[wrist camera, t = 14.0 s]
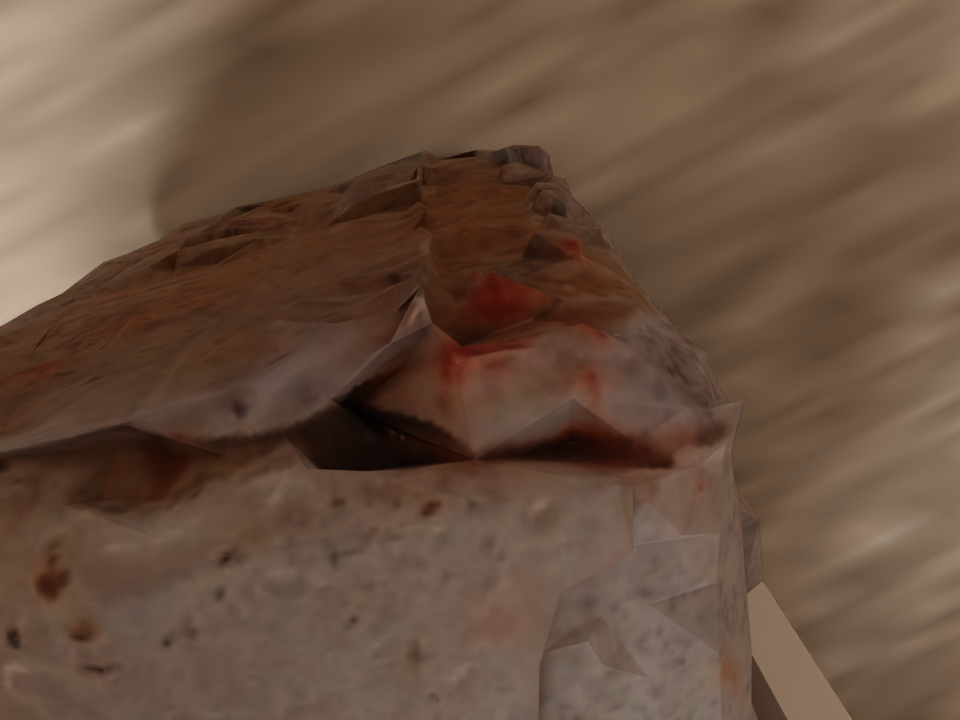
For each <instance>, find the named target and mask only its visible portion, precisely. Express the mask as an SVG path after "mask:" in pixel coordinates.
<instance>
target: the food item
mask: <svg viewBox="0 0 960 720" xmlns="http://www.w3.org/2000/svg"><path fill="white" fill-rule="evenodd" d="M744 401H745V399H742V400H738V401H735V402H732V403H727V401H726V399H725V397H724V395H723V393H722V391H721V389H720V387H719V385H718V383H717V381H716V379H715V377H714V375H713V373H712V371H711V369H710V366H709V363H708V360H707V357H706V354H705V351H704V350H702V349H701V348H699V347H698V346H697V345H695V344H694V343H692V342H691V341H689V340H688V339H686V338H685V337H683V336H682V335H681V334H680V333H679V332H678V330H677V329H676V328H675V327H674V326H673V325H672V324H671V322H670V321H669V320H668V319H667V318H666V317H665V316H664V314H663V313H662V312H661V311H660V310H659V309H658V308H657V307H656V305H655V304H654V303H653V302H652V301H651V300H650V299H649V298H648V296H647V295H646V294H645V293H644V292H643V291H642V290H641V289H640V287H639V286H638V285H637V283H636V281H635V280H634V278H633V276H632V275H631V273H630V271H629V270H628V268H627V266H626V265H625V263H624V261H623V260H622V258H621V257H620V256H619V254H618V253H617V251H616V249H615V247H614V245H613V243H612V241H611V239H610V238H609V236H608V235H607V234H606V232H605V231H604V230H603V229H602V228H601V227H600V226H599V225H598V224H597V222H596V221H595V220H594V219H593V218H592V217H591V216H590V215H589V213H588V212H587V211H586V210H585V209H584V208H583V207H582V206H581V205H580V204H579V203H578V202H577V201H576V200H575V199H574V198H573V197H572V196H571V193H570V190H569V187H568V184H567V182H566V179H562V178H558V177H555V176H553V173H552V168H551V163H550V159H549V155H548V154H547V153H545V152H544V151H543V150H542V149H541V148H540V147H539V146H523V145H513V146H510V147H507V148H504V149H501V150H498V151H484V150H475V151H471V152H466V153H460V154H453V155H447V156H440V157H436V156H434V155H432V154H430V153H428V152H426V151H424V152H421V153H418V154H415V155H412V156H409V157H406V158H403V159H401V160H398V161H396V162H393V163H390V164H388V165H385V166H382V167H380V168H377V169H375V170H372V171H370V172H368V173H365V174H363V175H361V176H358V177H356V178H354V179H351V180H349V181H346V182H344V183H342V184H339V185H336V186H332V187H328V188H324V189H320V190H316V191H312V192H308V193H304V194H300V195H295V196H290V197H286V198H281V199H276V200H271V201H266V202H261V203H257V204H252V205H247V206H242V207H237V208H235V209H233V210H231V211H229V212H227V213H225V214H223V215H220V216H216V217H212V218H208V219H204V220H199V221H195V222H191V223H187V224H184V225H183V226H181V227H179V228H178V229H176V230H175V231H173V232H171V233H170V234H168V235H167V236H165V237H164V238H162V239H160V240H159V241H156V242H154V243H152V244H149V245H147V246H144V247H142V248H140V249H137V250H135V251H133V252H130V253H128V254H125V255H123V256H120V257H117V258H114V259H112V260H109V261H106V262H104V263H102V264H101V265H99V266H98V267H97V268H95V269H94V270H93V271H91V272H90V273H89V274H87V275H86V276H85V277H83V278H82V279H81V280H79V281H78V282H77V283H75V284H74V285H73V286H71V287H70V288H69V289H68V290H66V291H65V292H64V293H62V294H61V295H58V296H56V297H54V298H52V299H50V300H48V301H46V302H44V303H41V304H39V305H37V306H35V307H34V308H32V309H30V310H28V311H27V312H25V313H23V314H22V315H20V316H18V317H16V318H15V319H13V320H11V321H10V322H8V323H6V324H4V325H2V326H0V720H758V719H757V716H756V713H755V711H754V708H753V705H752V703H751V675H752V647H751V636H750V625H749V613H748V602H747V594H748V593H749V592H750V591H751V590H753V589H754V588H755V587H756V586H757V585H758V584H760V583H761V582H762V581H763V567H762V552H761V538H760V523H759V519H758V517H757V516H756V514H755V513H754V512H753V510H752V509H751V508H750V506H749V505H748V503H747V502H746V501H745V499H744V498H743V496H742V495H741V494H740V492H739V491H738V490H737V488H736V484H735V479H734V474H733V468H732V445H733V441H734V438H735V434H736V430H737V427H738V423H739V419H740V416H741V412H742V408H743V405H744Z"/></svg>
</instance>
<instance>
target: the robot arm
mask: <svg viewBox="0 0 960 720" xmlns="http://www.w3.org/2000/svg"><path fill="white" fill-rule="evenodd" d="M747 602H748V613H749V625H750V636H751V647H752V675H751V703H752V705H753V708H754V711H755V713H756V716H757V719H758V720H852V718H851V717H850V715H849V714H848V712H847V711H846V709H845V708H844V706H843V705H842V703H841V701H840V700H839V698H838V697H837V695H836V694H835V692H834V691H833V689H832V688H831V686H830V684H829V683H828V681H827V680H826V678H825V677H824V675H823V674H822V672H821V670H820V669H819V667H818V666H817V664H816V663H815V661H814V660H813V658H812V657H811V655H810V653H809V652H808V650H807V649H806V647H805V646H804V644H803V643H802V641H801V640H800V638H799V636H798V635H797V633H796V632H795V630H794V629H793V627H792V626H791V624H790V623H789V621H788V619H787V618H786V616H785V615H784V613H783V612H782V610H781V609H780V607H779V606H778V604H777V602H776V601H775V599H774V598H773V596H772V595H771V593H770V592H769V590H768V589H767V587H766V585H765V584H764V582H763V581H762V582H761V583H760V584H758V585H757V586H756V587H755V588H754V589H753V590H751V591H750V592H749V593H748V594H747Z"/></svg>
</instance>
